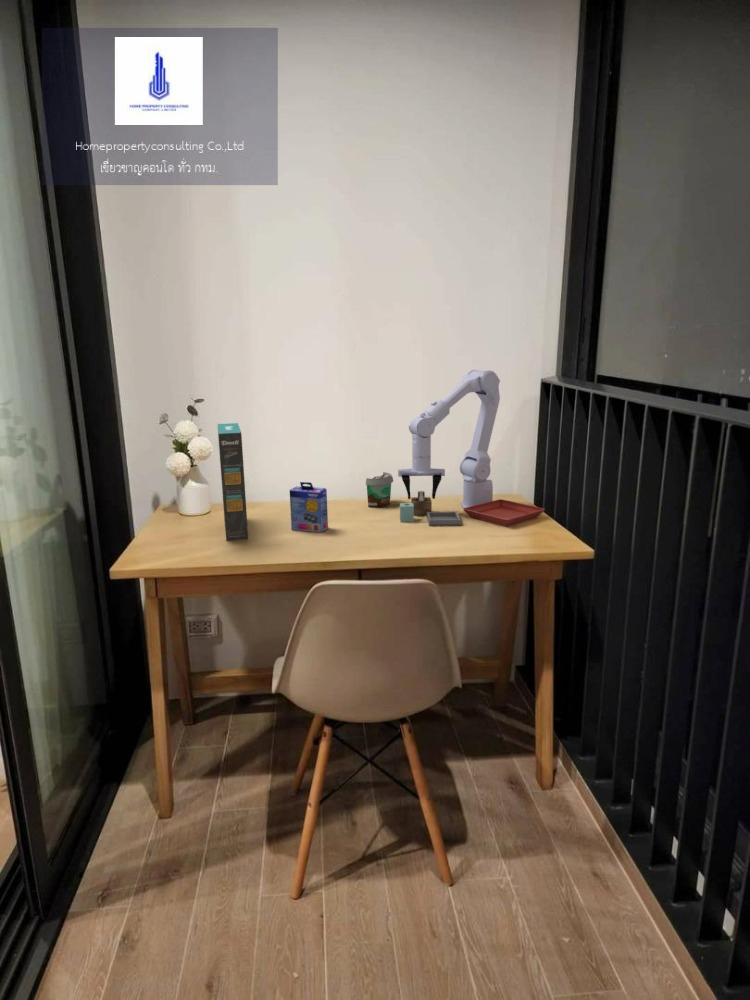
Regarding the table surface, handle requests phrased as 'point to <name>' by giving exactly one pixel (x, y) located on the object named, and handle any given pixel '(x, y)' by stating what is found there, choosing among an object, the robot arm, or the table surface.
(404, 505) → the teal block
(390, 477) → the food container
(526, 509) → the plant saucer
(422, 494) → the steel pin
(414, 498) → the walnut block
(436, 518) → the tray
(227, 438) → the cake mix box
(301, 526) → the ink cartridge box
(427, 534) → the table surface
